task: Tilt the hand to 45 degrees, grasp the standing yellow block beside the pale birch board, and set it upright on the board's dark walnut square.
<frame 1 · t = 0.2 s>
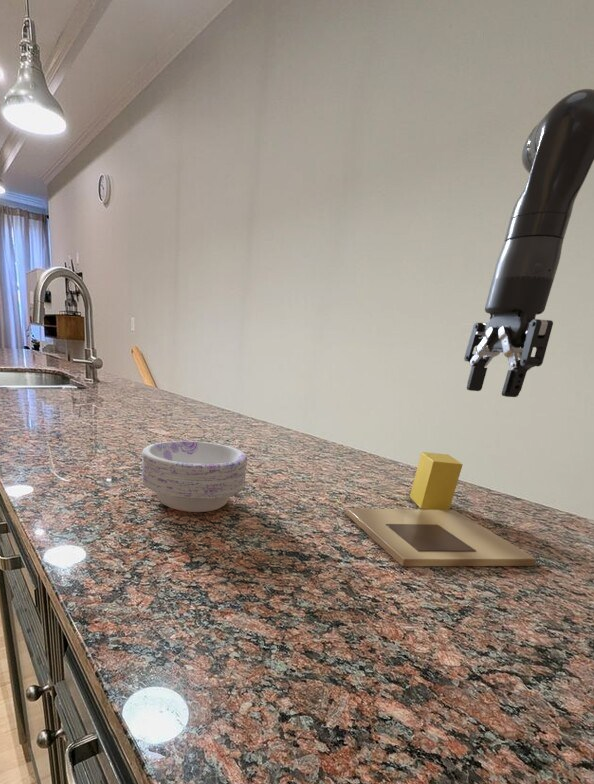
hand: (490, 393, 70), 18 cm above the table, tool pointing down, fingers open, 8 cm apart
board: (431, 537, 62), on the table
paper bowls: (191, 502, 68), on the table
yellow block: (428, 503, 75), on the table
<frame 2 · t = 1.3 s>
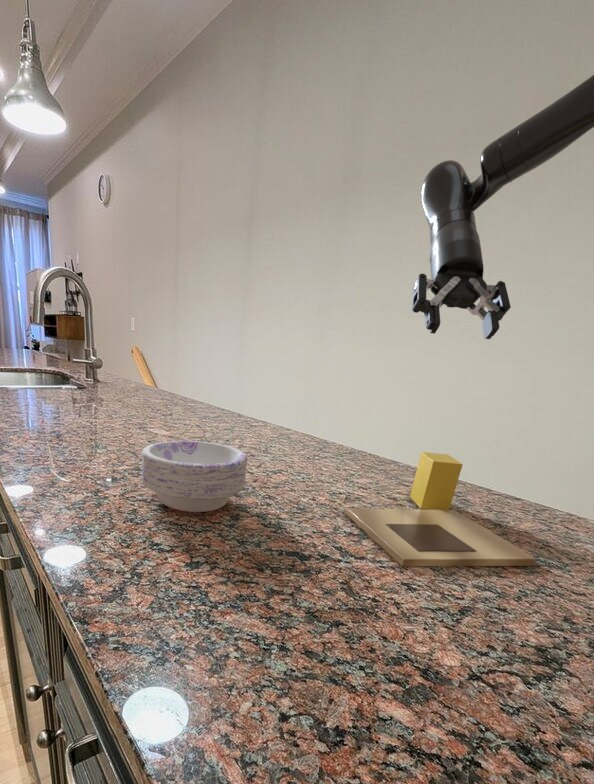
hand: (462, 332, 69), 27 cm above the table, tool tilted 45°, fingers open, 8 cm apart
nothing on the table moved.
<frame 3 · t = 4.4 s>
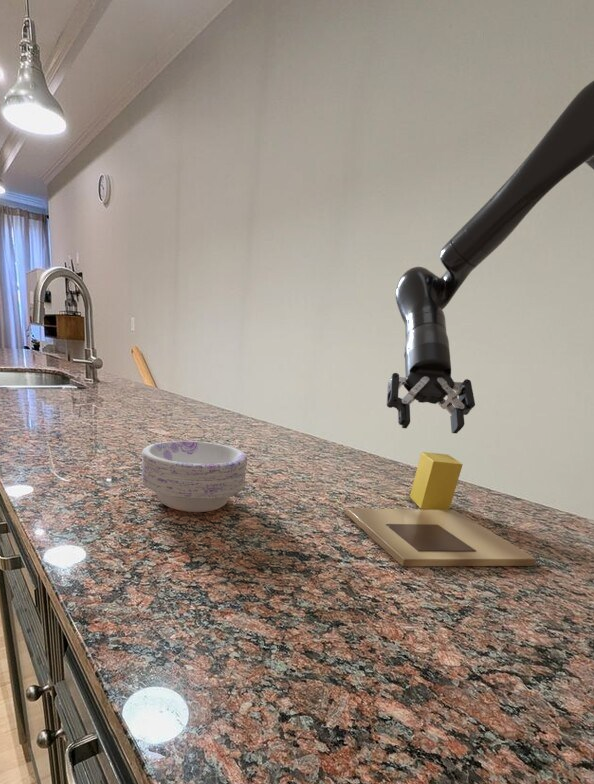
hand: (431, 428, 77), 11 cm above the table, tool tilted 45°, fingers open, 8 cm apart
nothing on the table moved.
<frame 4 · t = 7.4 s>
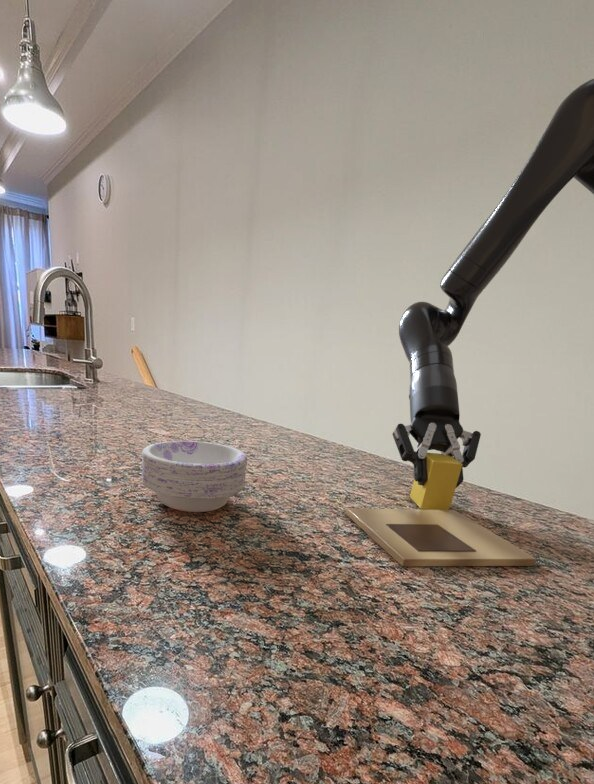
hand: (439, 484, 71), 4 cm above the table, tool tilted 45°, fingers closed on yellow block, 4 cm apart
yellow block: (428, 503, 75), on the table, touching gripper
everything else where it was.
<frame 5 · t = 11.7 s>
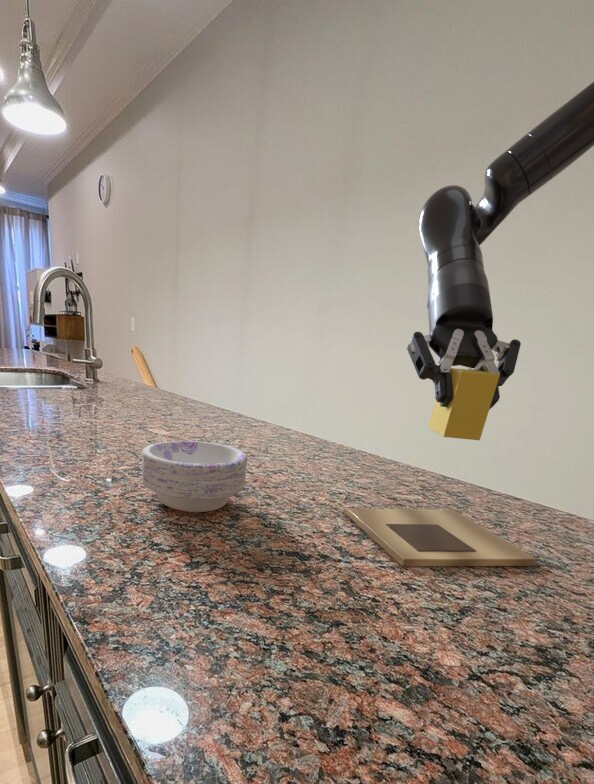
hand: (467, 404, 56), 18 cm above the table, tool tilted 45°, fingers closed on yellow block, 4 cm apart
yellow block: (452, 433, 59), point 14 cm above the table, touching gripper
everything else where it was.
when the fingers open (5 cm above the table, at t = 16.3 s): yellow block stays where it is, resting on board.
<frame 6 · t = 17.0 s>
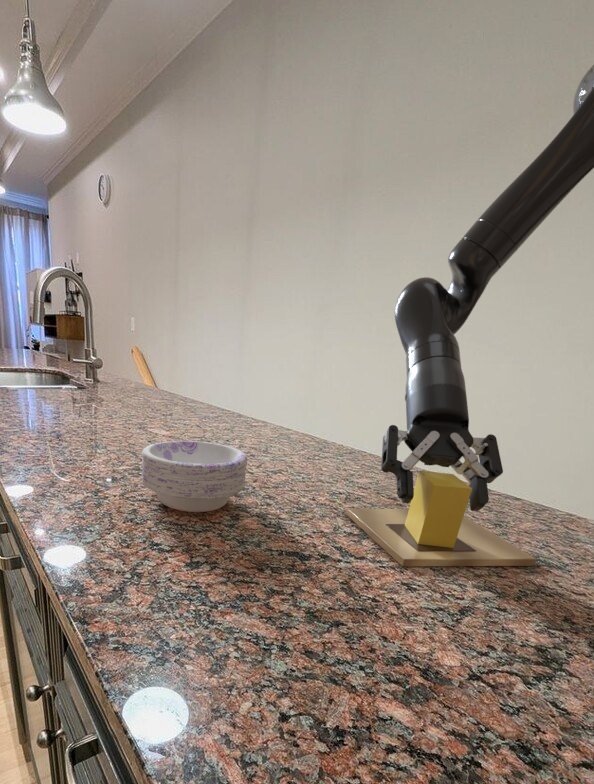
hand: (442, 504, 56), 6 cm above the table, tool tilted 45°, fingers open, 8 cm apart
yellow block: (427, 536, 59), point 1 cm above the table, touching board
everything else where it was.
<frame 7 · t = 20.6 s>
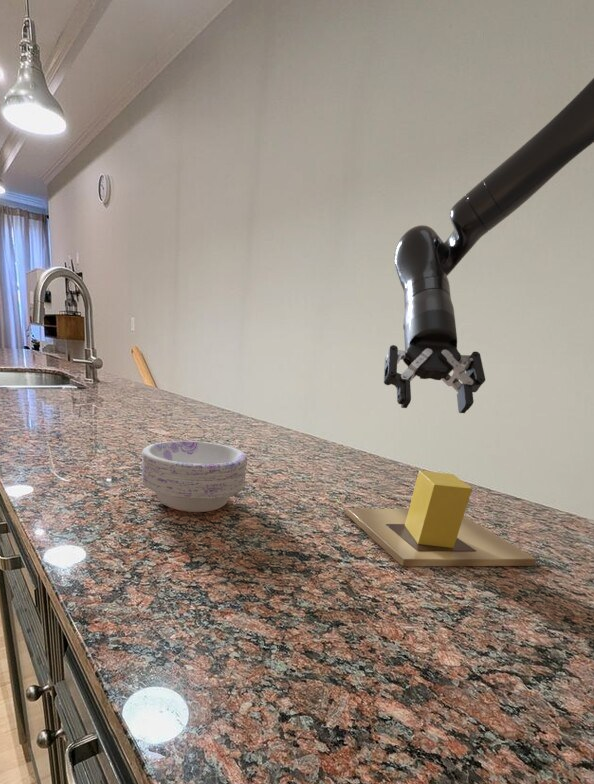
hand: (435, 407, 67), 16 cm above the table, tool tilted 45°, fingers open, 8 cm apart
nothing on the table moved.
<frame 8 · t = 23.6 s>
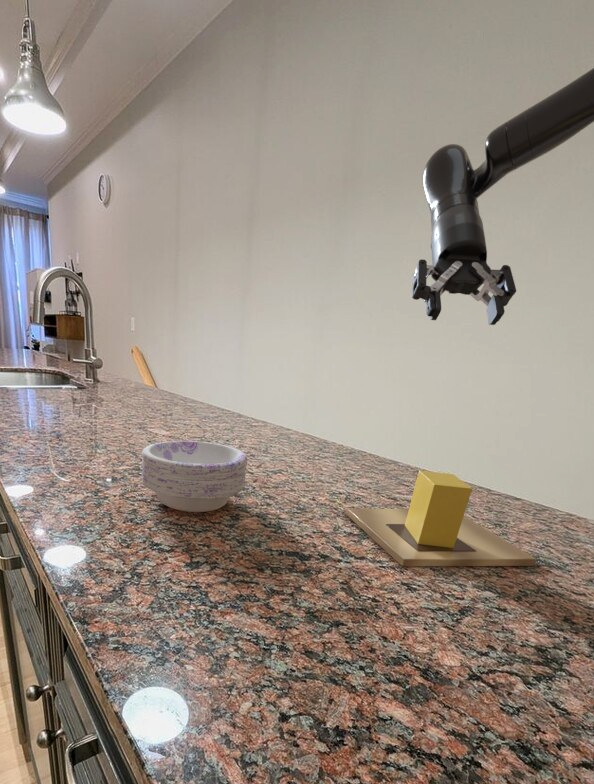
hand: (465, 318, 66), 29 cm above the table, tool tilted 45°, fingers open, 8 cm apart
nothing on the table moved.
at the end: yellow block inside the target area on the board (0.1 cm from its centre), point 1.1 cm above the board's base; yellow block tilted 0°; the gripper is holding nothing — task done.
